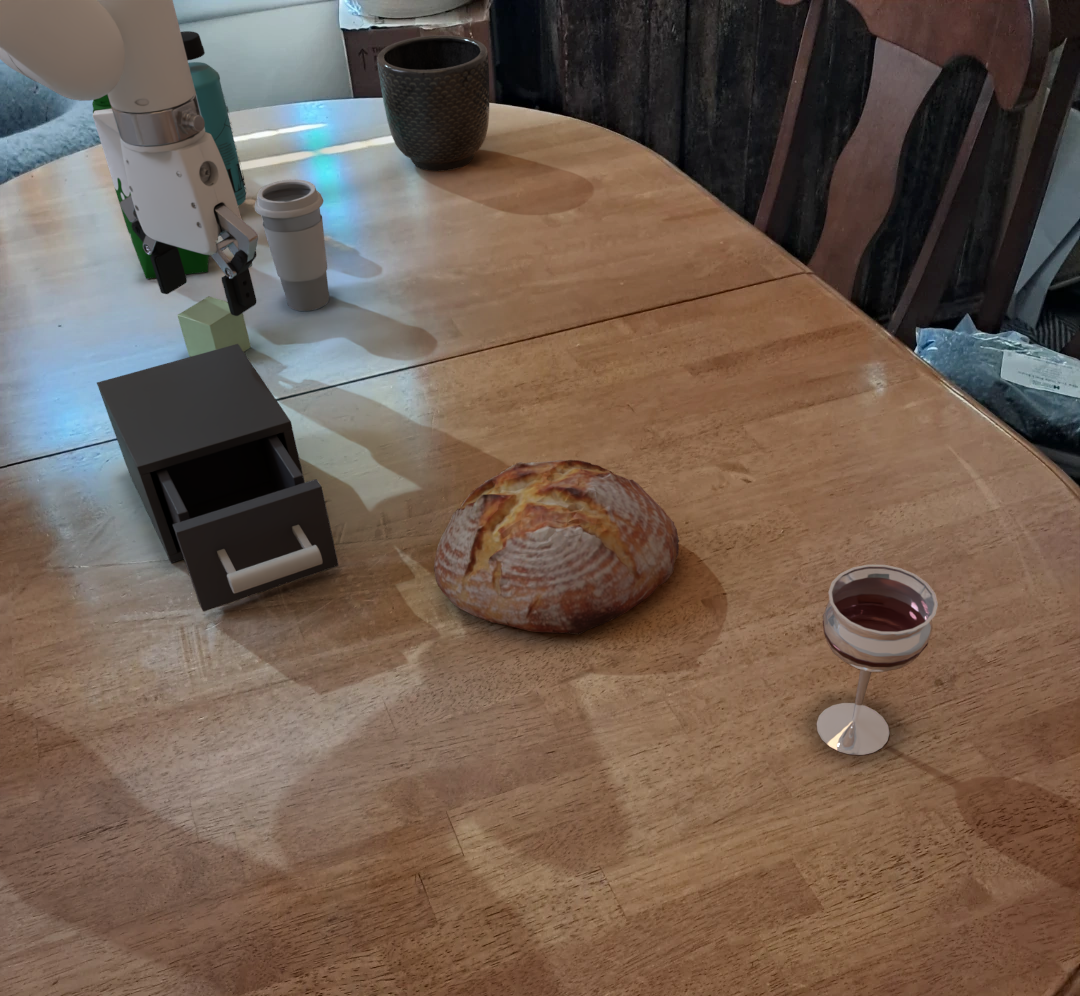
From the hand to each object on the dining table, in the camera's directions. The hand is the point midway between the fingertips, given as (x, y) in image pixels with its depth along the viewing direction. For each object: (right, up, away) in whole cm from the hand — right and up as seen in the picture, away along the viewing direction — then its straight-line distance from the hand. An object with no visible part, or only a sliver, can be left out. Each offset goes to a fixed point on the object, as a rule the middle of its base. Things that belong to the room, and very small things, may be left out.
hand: (208, 298), depth 117 cm
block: (0, -4, +4) cm, 6 cm away
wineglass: (+56, -43, -36) cm, 79 cm away
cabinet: (+5, -23, -14) cm, 27 cm away
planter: (+21, +32, +37) cm, 53 cm away
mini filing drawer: (+10, -29, -22) cm, 38 cm away
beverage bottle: (-6, +21, +28) cm, 36 cm away
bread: (+35, -31, -23) cm, 52 cm away
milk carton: (-9, +11, +19) cm, 24 cm away
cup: (+8, +4, +11) cm, 14 cm away
